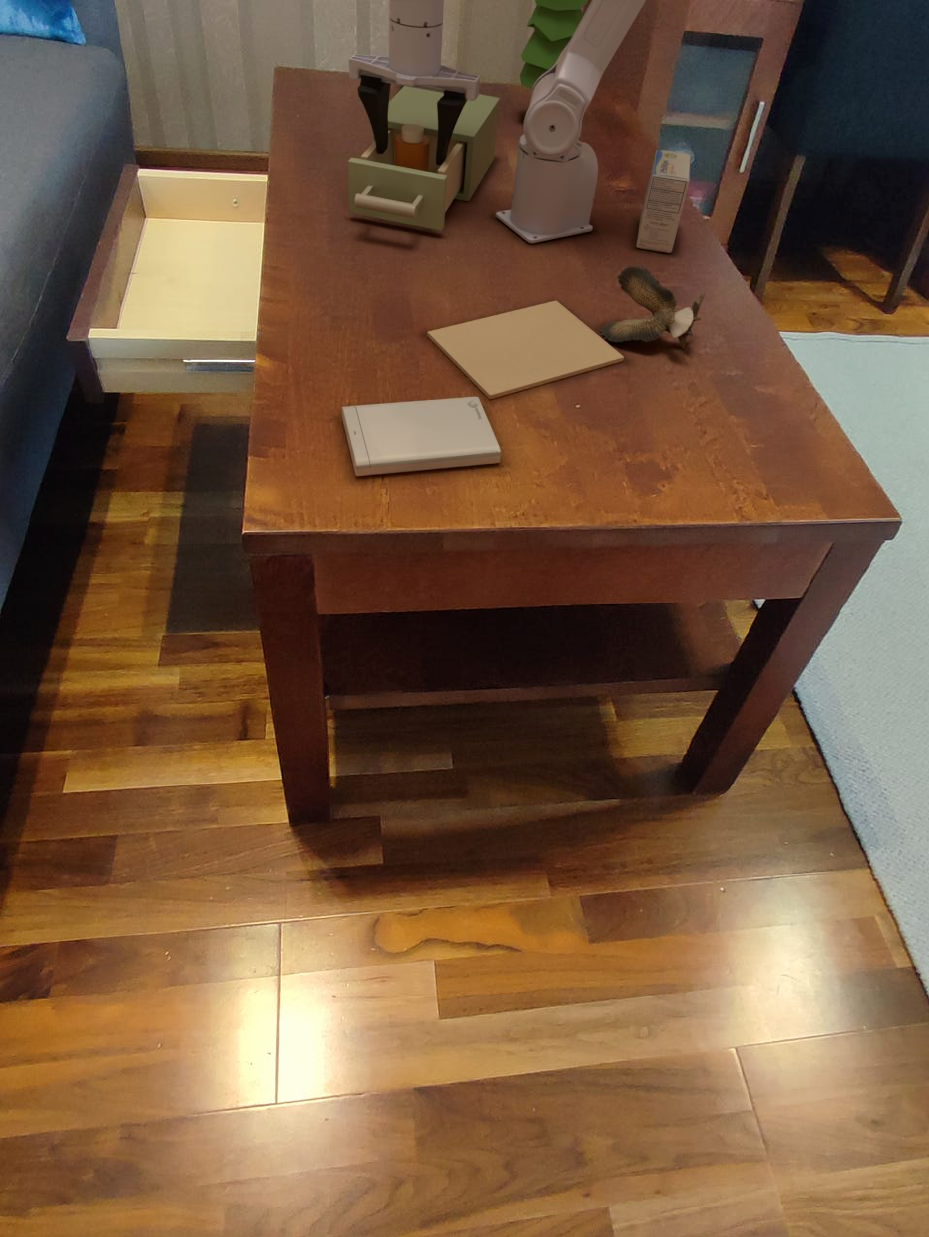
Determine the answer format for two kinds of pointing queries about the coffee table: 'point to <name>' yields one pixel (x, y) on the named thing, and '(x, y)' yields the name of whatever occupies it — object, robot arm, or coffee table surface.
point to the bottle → (412, 148)
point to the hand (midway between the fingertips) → (411, 156)
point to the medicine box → (664, 201)
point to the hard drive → (419, 436)
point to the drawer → (406, 184)
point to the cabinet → (471, 127)
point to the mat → (524, 348)
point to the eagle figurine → (658, 302)
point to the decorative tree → (549, 36)
